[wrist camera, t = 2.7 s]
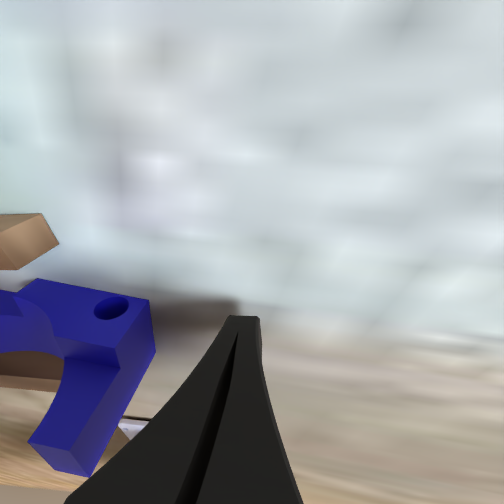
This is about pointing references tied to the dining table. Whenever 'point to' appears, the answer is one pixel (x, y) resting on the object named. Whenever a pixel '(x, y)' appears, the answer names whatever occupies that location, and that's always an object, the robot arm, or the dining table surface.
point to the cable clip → (80, 363)
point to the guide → (13, 258)
